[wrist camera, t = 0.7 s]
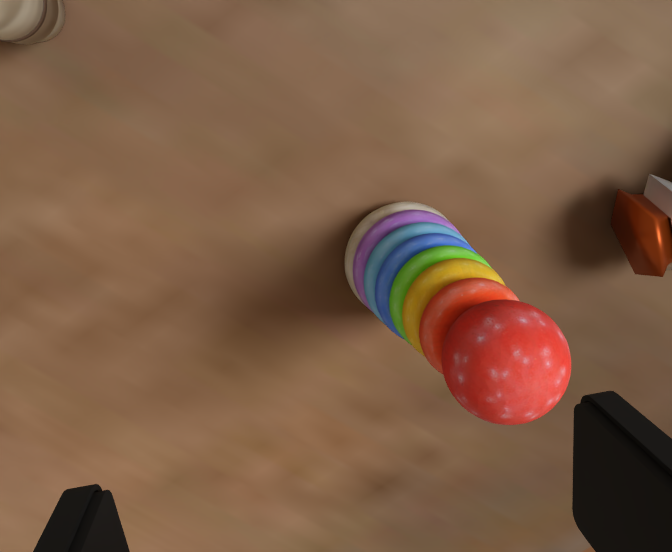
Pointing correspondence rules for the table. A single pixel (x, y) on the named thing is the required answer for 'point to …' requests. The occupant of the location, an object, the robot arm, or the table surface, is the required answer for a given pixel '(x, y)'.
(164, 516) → the table surface
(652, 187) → the potion bottle
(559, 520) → the table surface
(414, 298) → the stacking toy
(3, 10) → the peg
